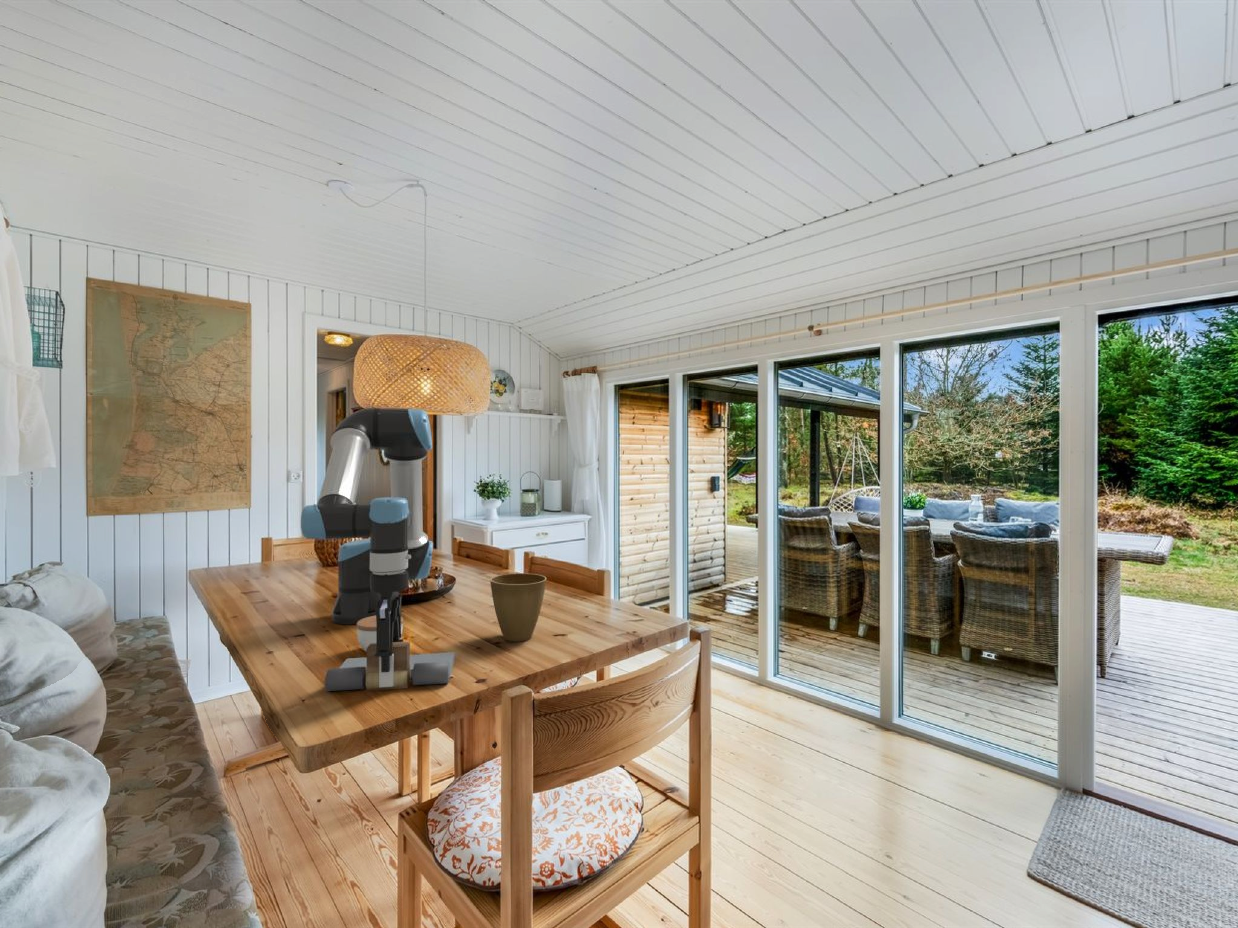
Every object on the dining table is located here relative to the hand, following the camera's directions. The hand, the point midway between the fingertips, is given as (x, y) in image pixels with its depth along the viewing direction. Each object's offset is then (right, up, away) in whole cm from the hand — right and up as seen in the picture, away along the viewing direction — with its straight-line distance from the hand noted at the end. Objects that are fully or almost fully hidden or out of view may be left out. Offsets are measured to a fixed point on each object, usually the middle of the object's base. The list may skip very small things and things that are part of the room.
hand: (389, 680), depth 118 cm
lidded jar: (-11, -1, +21) cm, 24 cm away
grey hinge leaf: (-1, -1, +5) cm, 6 cm away
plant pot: (+21, -1, +32) cm, 39 cm away
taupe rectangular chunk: (0, -1, 0) cm, 1 cm away
